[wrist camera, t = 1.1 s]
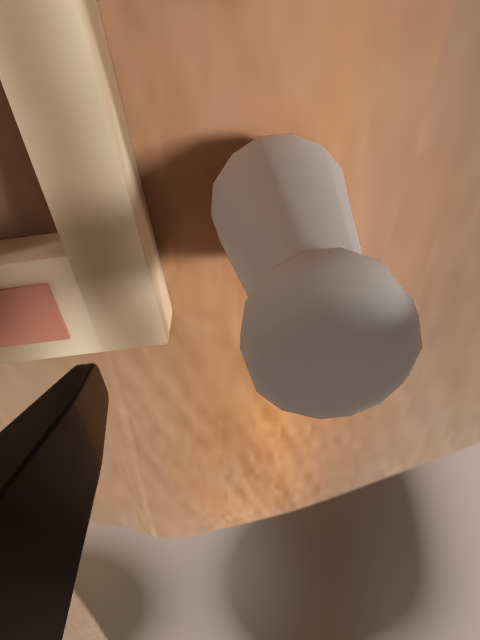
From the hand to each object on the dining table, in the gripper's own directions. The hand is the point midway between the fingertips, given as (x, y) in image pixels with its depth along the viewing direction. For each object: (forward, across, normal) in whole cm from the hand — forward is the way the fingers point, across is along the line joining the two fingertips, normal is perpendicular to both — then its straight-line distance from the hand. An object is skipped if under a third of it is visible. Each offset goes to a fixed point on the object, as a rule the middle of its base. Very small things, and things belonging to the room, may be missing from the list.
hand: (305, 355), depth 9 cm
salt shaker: (+13, -1, +1) cm, 13 cm away
